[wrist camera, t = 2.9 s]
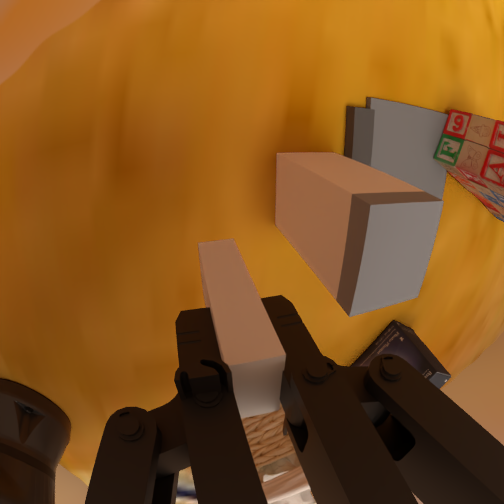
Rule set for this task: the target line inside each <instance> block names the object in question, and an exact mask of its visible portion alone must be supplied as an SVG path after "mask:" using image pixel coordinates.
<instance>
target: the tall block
mask: <svg viewBox="0 0 504 504" xmlns="http://www.w3.org/2000/svg"><path fill="white" fill-rule="evenodd" d="M443 202H444V201H443V200H441V199H439V198H437V197H435V196H433V195H431V194H429V193H427V192H425V191H423V190H421V189H419V188H417V187H415V186H413V185H410V184H408V183H406V182H404V181H402V180H400V179H397V178H395V177H393V176H391V175H388V174H386V173H384V172H382V171H379V170H377V169H375V168H372V167H370V166H367V165H365V164H363V163H360V162H358V161H355V160H353V159H350V158H347V157H345V156H342V155H340V154H337V153H334V152H293V153H277V161H276V213H275V225H276V227H277V228H278V229H279V230H280V231H281V233H282V234H283V235H284V236H285V237H286V239H287V240H288V241H289V242H290V243H291V245H292V246H293V247H294V248H295V250H296V251H297V252H298V253H299V254H300V256H301V257H302V258H303V259H304V261H305V262H306V263H307V264H308V266H309V267H310V268H311V269H312V270H313V272H314V273H315V274H316V275H317V277H318V278H319V279H320V280H321V282H322V283H323V284H324V285H325V287H326V288H327V289H328V290H329V292H330V293H331V294H332V295H333V297H334V298H335V299H336V301H337V302H338V303H339V304H340V306H341V307H342V308H343V309H344V311H345V312H346V313H347V315H348V316H349V317H351V316H355V315H358V314H362V313H366V312H369V311H373V310H377V309H380V308H384V307H387V306H390V305H394V304H397V303H400V302H404V301H407V300H410V299H413V298H417V297H418V295H419V292H420V289H421V286H422V283H423V279H424V276H425V273H426V270H427V266H428V263H429V260H430V256H431V252H432V249H433V245H434V241H435V237H436V233H437V229H438V225H439V221H440V216H441V212H442V207H443Z"/></svg>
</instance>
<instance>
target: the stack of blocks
mask: <svg viewBox="0 0 504 504" xmlns="http://www.w3.org/2000/svg"><path fill="white" fill-rule="evenodd" d="M434 160H435V161H437V162H438V163H439V164H440V165H441V166H442V167H444V168H445V169H446V170H447V172H448V173H450V174H451V175H452V176H453V177H454V178H455V179H456V180H457V181H459V182H460V183H461V184H462V185H463V186H464V187H465V188H466V189H467V190H468V191H470V192H472V193H473V194H474V195H475V196H476V197H477V198H478V199H479V200H480V201H481V202H482V203H483V204H484V205H485V207H486V208H487V209H488V210H489V211H490V212H491V213H492V214H493V215H494V216H495V217H496V218H497V219H499V220H501V221H503V222H504V122H502V121H499V120H494V119H490V118H485V117H482V116H478V115H473V114H471V113H467V112H462V111H458V110H453V109H451V110H450V113H449V116H448V118H447V122H446V125H445V128H444V130H443V135H442V137H441V140H440V143H439V145H438V148H437V151H436V153H435V156H434Z"/></svg>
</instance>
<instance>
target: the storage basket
mask: <svg viewBox="0 0 504 504" xmlns="http://www.w3.org/2000/svg"><path fill="white" fill-rule="evenodd" d="M284 418H285V412H284V410H283V407H282V405H281V402H280V409H279V410H278V411H273V412H269V413H265V414H260V415H256V416H251V417H246V418H241V420H242V423H243V427H244V430H245V433H246V437H247V440H248V443H249V447H250V450H251V453H252V456H253V460H254V463H255V466H256V469H257V472H258V475H259V478H260V482H261V485H262V488H263V491H264V494H265V497H266V499H267V502H268V504H317V503H316V501H315V498H313V497H312V495H311V493H310V490H311V489H310V486H309V484H308V482H307V479H306V477H305V474H304V472H303V469H302V467H301V464H300V462H299V459H298V457H297V454H296V452H295V449H294V447H293V444H292V442H291V439H290V437H289V434H288V431H287V435H284V436H283V430H282V429H283V424H284Z"/></svg>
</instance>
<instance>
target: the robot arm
mask: <svg viewBox="0 0 504 504" xmlns="http://www.w3.org/2000/svg"><path fill="white" fill-rule="evenodd" d="M198 249H199V259H200V268H201V277H202V285H203V294H204V300H205V305H206V308H200V309H193V310H185V311H181V312H180V314H179V316H178V318H177V320H176V322H175V323H176V335H177V347H178V358H179V368H178V369H177V371H176V372H175V379H174V381H175V384H176V387H177V390H178V393H177V395H176V396H175V398H173V399H172V400H171V401H170V402H169V403H167V404H165V405H163V406H161V407H158V408H156V409H153V410H151V411H148V412H147V411H146V410H145V409H141V408H138V407H125V408H122V409H120V410H117V411H116V412H115V413H114V414H112V415H111V416H110V418H109V420H108V421H107V423H106V426H105V429H104V432H103V436H102V439H101V443H100V446H99V450H98V453H97V457H96V460H95V464H94V468H93V472H92V476H91V480H90V484H89V488H88V492H87V496H86V500H85V504H175V502H176V493H177V484H178V476H179V471H180V470H183V469H185V468H187V467H190V466H191V470H192V475H193V480H194V485H195V490H196V495H197V500H198V504H268V502H267V499H266V497H265V494H264V491H263V488H262V485H261V482H260V478H259V475H258V472H257V469H256V466H255V463H254V460H253V456H252V453H251V450H250V447H249V443H248V440H247V437H246V433H245V430H244V427H243V423H242V420H241V418H246V417H251V416H256V415H260V414H265V413H269V412H273V411H278V410H279V409H280V402H281V405H282V407H283V410H284V412H285V418H284V424H283V429H282V430H283V436H284V435H287V431H288V434H289V437H290V439H291V442H292V444H293V447H294V449H295V452H296V454H297V457H298V459H299V462H300V464H301V467H302V469H303V472H304V474H305V477H306V479H307V482H308V484H309V486H310V489H311V491H312V494H313V496H314V498H315V501H316V503H317V504H418V502H417V501H416V499H415V497H414V495H413V494H412V492H413V493H414V494H415V495H416V496H417V497H418V498H419V499H420V500H421V501H422V502H423V503H424V504H504V446H503V445H502V444H501V443H500V442H499V441H498V440H497V439H495V438H494V437H493V436H492V435H491V434H490V433H489V432H488V431H486V430H485V429H484V428H483V427H482V426H481V425H479V424H478V423H477V422H476V421H475V420H474V419H473V418H472V417H471V416H469V415H468V414H467V413H466V412H465V411H464V410H463V409H461V408H460V407H459V406H458V405H457V404H456V403H454V402H453V401H452V400H451V399H450V398H449V397H448V396H447V395H445V394H444V393H443V392H442V391H441V390H440V389H438V388H437V387H436V386H435V385H434V384H433V383H432V382H430V381H429V380H428V379H427V378H426V377H425V376H423V375H422V374H421V373H420V372H419V371H418V370H416V369H415V368H414V367H413V366H412V365H410V364H409V363H408V362H407V361H406V360H404V359H403V358H401V357H399V356H397V355H394V354H381V355H378V356H376V357H375V358H374V359H373V360H372V361H371V362H370V364H369V366H358V367H347V366H340V365H337V364H336V363H335V362H334V361H333V360H331V359H329V358H328V357H326V356H323V355H322V354H321V352H320V351H319V349H318V347H317V345H316V344H315V342H314V340H313V339H312V337H311V335H310V333H309V332H308V330H307V328H306V326H305V325H304V323H303V322H302V319H301V318H300V316H299V315H298V312H297V311H296V309H295V307H294V306H293V304H292V303H291V302H290V301H289V300H287V299H286V298H285V297H283V296H282V295H278V296H272V297H266V298H260V297H259V294H258V292H257V290H256V288H255V285H254V283H253V281H252V279H251V277H250V274H249V272H248V270H247V268H246V265H245V263H244V261H243V259H242V257H241V254H240V252H239V250H238V248H237V245H236V243H235V241H234V239H226V240H217V241H209V242H201V243H198ZM70 433H71V424H70V421H69V419H68V417H67V416H66V415H65V414H64V412H63V411H62V410H61V409H59V408H58V407H57V406H56V405H55V404H54V403H52V402H51V401H49V400H48V399H47V398H45V397H43V396H42V395H40V394H38V393H37V392H35V391H33V390H31V389H29V388H27V387H24V386H22V385H20V384H17V383H14V382H11V381H7V380H3V379H0V504H55V473H56V468H57V466H58V463H59V461H60V459H61V457H62V455H63V453H64V451H65V448H66V446H67V445H68V443H69V440H70ZM411 491H412V492H411Z"/></svg>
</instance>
